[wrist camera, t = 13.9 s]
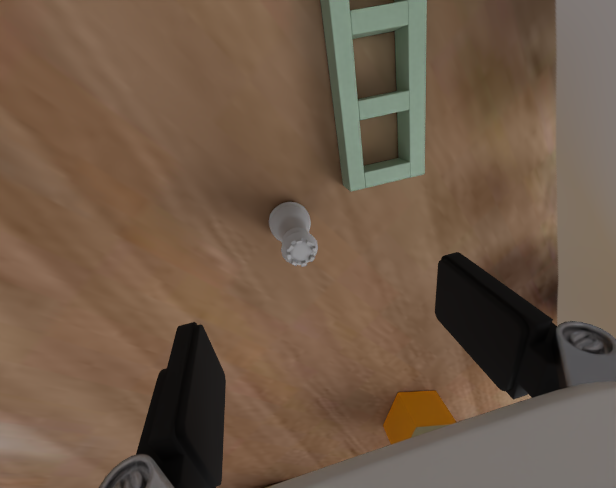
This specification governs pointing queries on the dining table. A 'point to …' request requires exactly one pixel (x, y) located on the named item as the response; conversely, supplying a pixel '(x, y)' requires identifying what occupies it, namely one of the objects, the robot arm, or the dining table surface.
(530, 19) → the dining table surface
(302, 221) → the rook chess piece
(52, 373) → the dining table surface
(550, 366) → the robot arm
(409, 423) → the orange juice
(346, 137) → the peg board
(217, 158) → the dining table surface
